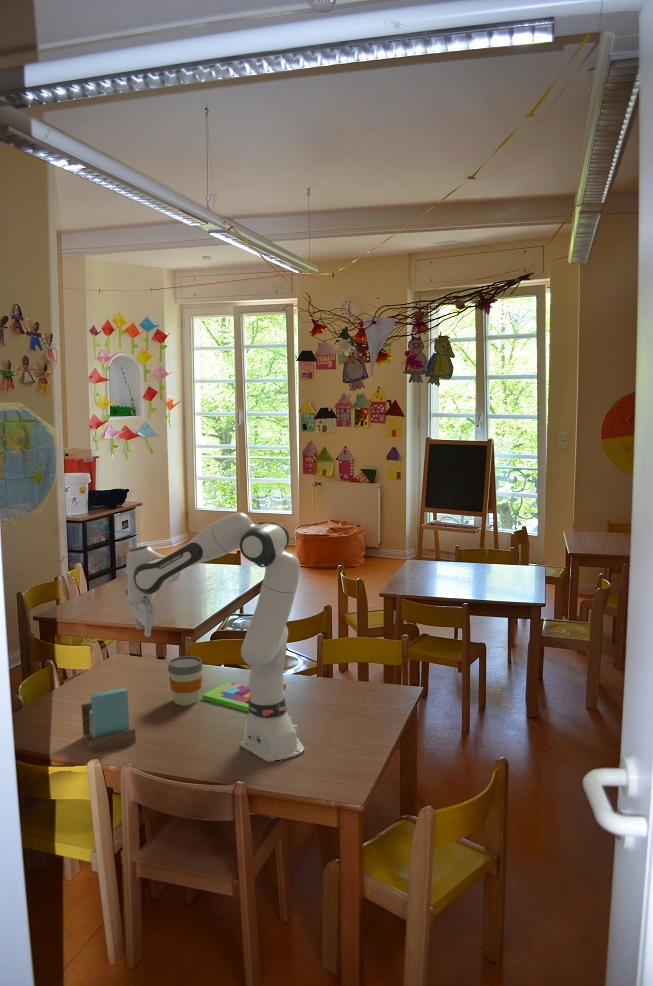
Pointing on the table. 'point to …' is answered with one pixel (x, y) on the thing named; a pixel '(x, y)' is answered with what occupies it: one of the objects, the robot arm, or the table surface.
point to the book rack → (106, 740)
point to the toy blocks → (231, 695)
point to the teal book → (110, 712)
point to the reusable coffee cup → (185, 679)
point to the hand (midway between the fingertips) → (143, 632)
